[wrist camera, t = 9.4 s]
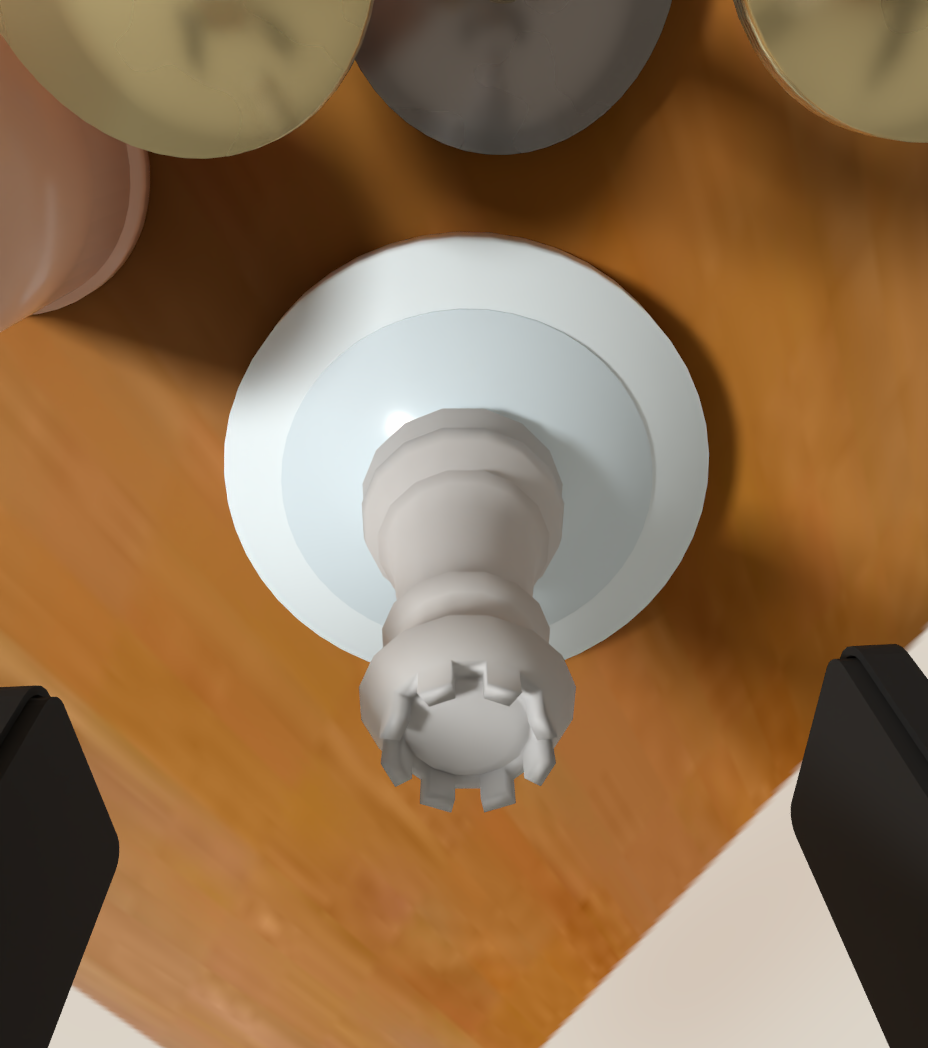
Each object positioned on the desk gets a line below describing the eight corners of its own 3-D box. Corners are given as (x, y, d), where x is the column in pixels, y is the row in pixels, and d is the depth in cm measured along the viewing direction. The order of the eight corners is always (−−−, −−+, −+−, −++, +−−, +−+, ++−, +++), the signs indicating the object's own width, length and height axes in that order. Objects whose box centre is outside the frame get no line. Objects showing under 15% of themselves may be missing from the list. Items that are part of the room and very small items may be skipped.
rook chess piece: (601, 467, 18) (695, 716, 11) (486, 604, 20) (505, 893, 13) (433, 358, 17) (421, 562, 10) (327, 515, 19) (251, 782, 12)
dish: (193, 242, 17) (174, 255, 16) (719, 220, 17) (740, 230, 16) (274, 658, 22) (264, 690, 21) (673, 642, 22) (686, 674, 21)
